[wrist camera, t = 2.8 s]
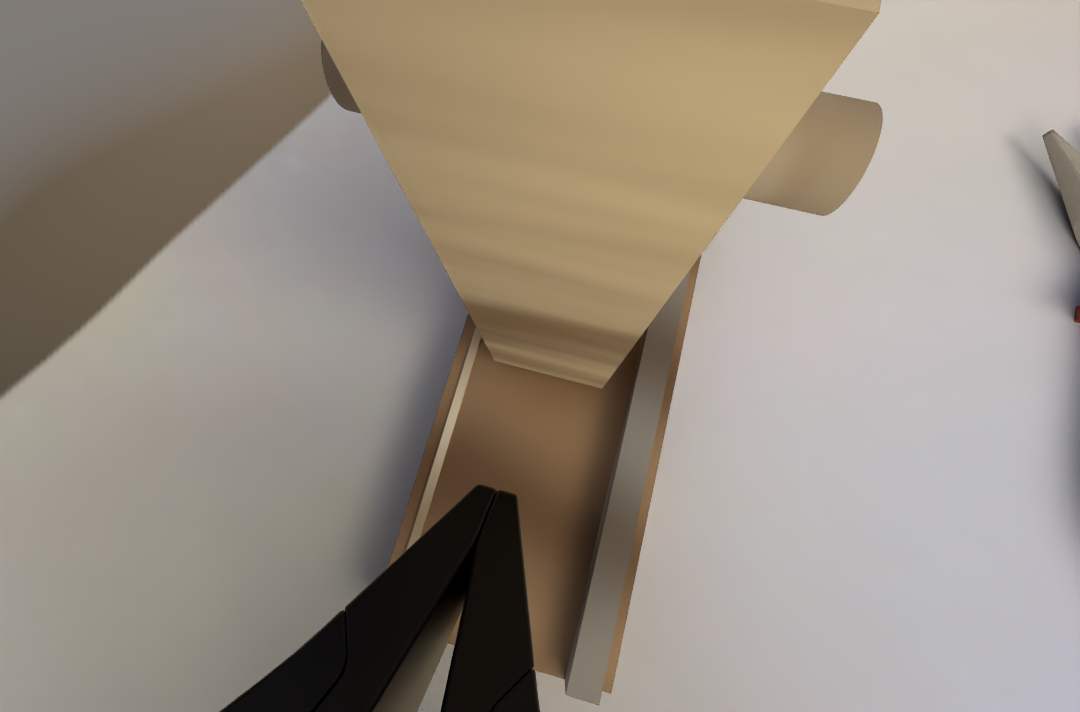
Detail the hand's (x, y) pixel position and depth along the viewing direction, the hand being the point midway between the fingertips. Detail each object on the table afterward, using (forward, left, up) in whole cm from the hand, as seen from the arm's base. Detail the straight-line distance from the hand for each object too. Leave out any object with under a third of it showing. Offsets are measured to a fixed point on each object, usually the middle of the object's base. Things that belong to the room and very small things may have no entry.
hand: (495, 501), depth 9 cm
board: (+5, +1, -8) cm, 10 cm away
